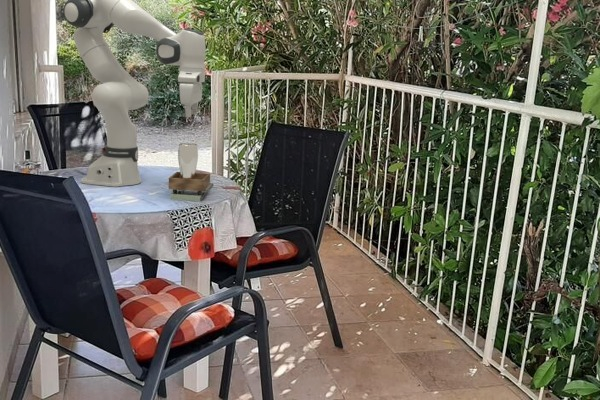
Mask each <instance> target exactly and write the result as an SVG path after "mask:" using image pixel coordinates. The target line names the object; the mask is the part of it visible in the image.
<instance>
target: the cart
mask: <svg viewBox="0 0 600 400" xmlns="http://www.w3.org/2000/svg"><path fill="white" fill-rule="evenodd" d="M210 183H211V173H204V172H203V173H202V172H195V179H181V178H180V171H175V173H173V174H172V175H171V176H170V177H168V190H172V193H177V190H184V191H191V192H192V191H195V192H197V195H202V191H205V190H206V188H207V187H208V186H209V185H210Z"/></svg>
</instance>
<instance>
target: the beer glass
mask: <svg viewBox="0 0 600 400" xmlns="http://www.w3.org/2000/svg"><path fill="white" fill-rule="evenodd" d="M177 150H178V152H177V155H178V156H177V161H178V166H179V172H180V178H181V179H195V173H197V166H198V160H199V151H198V143H194V142H180V143H178V149H177Z"/></svg>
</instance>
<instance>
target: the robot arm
mask: <svg viewBox="0 0 600 400" xmlns="http://www.w3.org/2000/svg"><path fill="white" fill-rule="evenodd" d="M63 16H64V19H65V21H66V22H67V23H68V24H69V25H70V26H71V27H72V26H73V27H76V28H78V29H77V30H76V31H75V32H74V34H73V41H74V44H75V46H76V49H77V51H78V53H79V57H80V58H81V60H82V61H83V63H84V64H85V66H86V67H87V69H88V71H89V73H90V75H91V76H92V78H94V79H95V80H96V81H98V82H100V83H99V84H98V85H96V86H95V87H94V89H93V91H92V94H91V98H92V102H93V104H94V106H95V107H96V109H98V110H99V112H100V113H101V115H102V117H103V119H104V122H105V123H104V124H105V126H106V127H105V128H106V143H107V144H106V145H105V146H103V148H101V149H100V150H101V151H100V152H101V153H102V155H101V156H100V157H98V158H97V159H96V160H95V161H93V162H92V163H91V164H89V165H88V168H87V171H86V172H87V173H86V176H84V177H82V178H81V180H80V183H81V184H86V185H87V184H88V185H94V186H95V185H97V186H105V187H114V188H116V187H122V186H133V185H137V184H141V183H142V180H141V177H140V171H139V166H138V161H139V149H138V147H139V146H138V145H137V144H138V143H137V141H138V139H137V138H138V136H137V135H138V133H137V132H138V131H137V130H138V129H137V126H136V124H134V123H133V122H132V121H131V119H130V115H129V111H134V110H138V109H140V108H142V107H145V106H146V105H147V103H148V102H149V99H150V97H149V95H150V94H149V90H148V89H147V87H146V86H145V85H144V84H143V83H141V82H139V81H137V80H136V79H135V78H134V77H133V76H132V75H130V74H129V72H128V71H127V70H126V69H125V68H124V67H123V66H122V65H121V63H120V62H119V61H118V59H117V58H116V56H115V55H114V53H113V52H112V50H111V48H110V47H109V44H108V43H107V42H106V40H105V38H104V34H107V33H109V32H110V30H111V29H112V28H114V27H117V28H118V29H119V30H121V31H123V32H126V33H128V34H133V35H137V36H143V37H148V38H151V39H153V40H155V41H157V44H156V47H155V54H156V58H157V59H158V61H159V62H160V63H161V64H163V65H165V66H166V65H167V66H177V67H178V66H179V73H178V75H177V82H178V83H179V101H180V104H181V105H183V106H184V111H185V117H186V118H191V117H192V115H194V116H195V115H197V114H198V108H199V103H200V102H201V101H202V100H203V99H202V98H203V83H205V82H206V66H205V58H206V38H205V35H204V33H203V32H202V31H200V30H197V29H192V28H183V29H181V30H180V31H179V32H175V31H174V30H173V29H172V28H170V27H168V25H165V24H164V23H163V22H161V21H159V20H158V19H156V18H155V17H154V16H153V15H151V14H150V13H149V12H147V11H146V10H144V9H143V8H142V7H141V6H140V5H138V4H137V3H136V2H135V1H134V0H67V1H66V2H65V3H64V6H63Z"/></svg>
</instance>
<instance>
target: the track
mask: <svg viewBox="0 0 600 400" xmlns="http://www.w3.org/2000/svg"><path fill="white" fill-rule="evenodd" d="M213 186H214V182H210V185H209V186H208V187H207V188H206V190H205V191H202V195H198V194H193V193H184V191H185V190H177V193H173V192H171V193H170V200H174V201H186V202H187V201H189V202H190V201H191V202H201V201H202V200H203V198H205V196H206V195H207V194H208V192H209V191H210V190H211V189H212V188H213Z"/></svg>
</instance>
